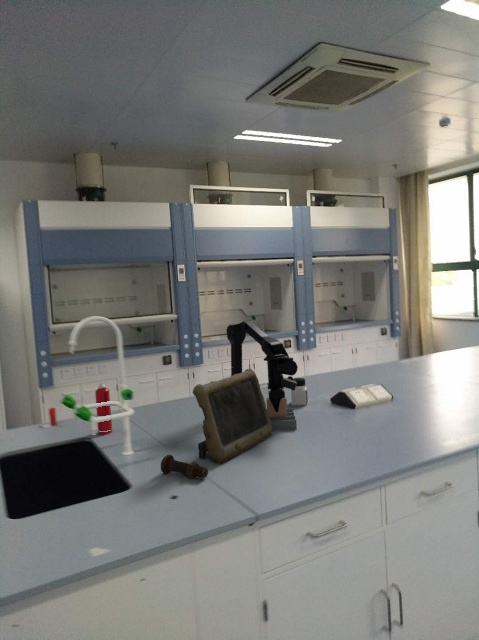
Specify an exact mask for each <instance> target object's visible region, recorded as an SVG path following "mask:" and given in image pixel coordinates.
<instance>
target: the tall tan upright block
mask: <svg viewBox="0 0 479 640" xmlns="http://www.w3.org/2000/svg"><path fill="white" fill-rule="evenodd" d="M265 400H266V401H265V402H266V409H267V412H268V415H269V417H276V416H287V409H288V404H287V403H288V401H287V397H286V396H285V398H282V399H281V400H280V405H279V411H278V412H275V409H274V407H273V405H272V403H271V401H270V399H269V397H266V399H265Z"/></svg>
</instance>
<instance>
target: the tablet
mask: <svg viewBox="0 0 479 640" xmlns="http://www.w3.org/2000/svg"><path fill="white" fill-rule="evenodd" d="M192 394H193V395H194V396H195V399H196V402H197V404H198V406H199V408H201V410H202V412H203V416H204V417H203V421H202V423H203V425H202V432H203V436H204V439H205V440H203V441H200V442H198V444H197V448H198V449H197V450H198V458H199V459H205V458H207V453H208V455H209V459H210V461H211V463H213V464H215V465H216V464H217V465H222V464H223V463H225V462H226V461H228V460H230V459H232V458H233V457H236V456H237V455H239V454H240V453H242V452H244V451H245V450H247V449H249V448H251V447H252V446H254V445H256V444H258V443H261V442H262V441H263V440H265V439H266V438H267V439H268V438H269V437H271V436H272V435H273V430H272V425H271V421H270V418H269V415H268V412H267V403H266V401H265V398H264V394H263V392H262V390H261V385H260V382H259V378H258V376H257V374H256V372H255V371H254V370H253V369H252V368H247V369H245V370H244V371H242V373H239V374H234V375H233V376H231V375H230V376H227V377H224V378H222V379H219V380H215V381H212V380H211V381H210V382H208V383H205V384H201V383H198V384H196V385H195V386H194V387H193V389H192Z"/></svg>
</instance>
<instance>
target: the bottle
mask: <svg viewBox="0 0 479 640" xmlns="http://www.w3.org/2000/svg"><path fill="white" fill-rule="evenodd" d="M94 397H95V404H96V403H101V402H107V401H110V402H111V397H110V389H109V388H107V387H106V385H105V384H104V383H100V384H98V386H97V389H95V392H94ZM95 408H96V407H95ZM111 412H112V411H111V405H110V406H102V407H98V408H96V417H97V416H106V415H111V416H112V413H111ZM111 429H112V430H111ZM98 430H99V431H107V430H111V431H108V432H99V431H98ZM97 433H98V435H102V436H103V435H104V436H105V435H109V434H112V433H113V424H112V419H111V420H109V421H104V422H99V423H98V422H97Z"/></svg>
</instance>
